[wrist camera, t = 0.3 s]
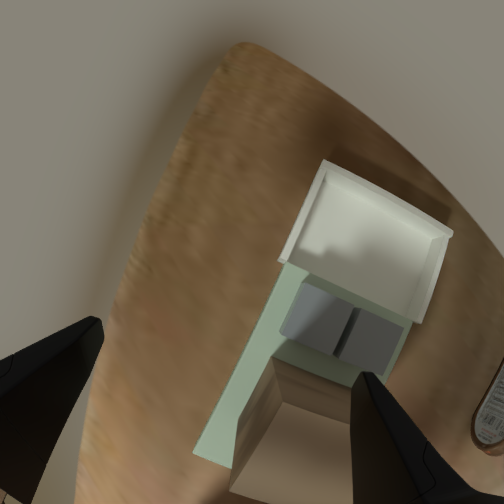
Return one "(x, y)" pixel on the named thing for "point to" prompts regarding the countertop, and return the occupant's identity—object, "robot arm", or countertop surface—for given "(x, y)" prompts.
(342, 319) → the slate tile
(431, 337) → the countertop surface
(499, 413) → the tin
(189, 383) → the countertop surface
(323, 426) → the walnut push block
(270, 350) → the sage board
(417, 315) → the cream tray
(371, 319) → the slate tile
